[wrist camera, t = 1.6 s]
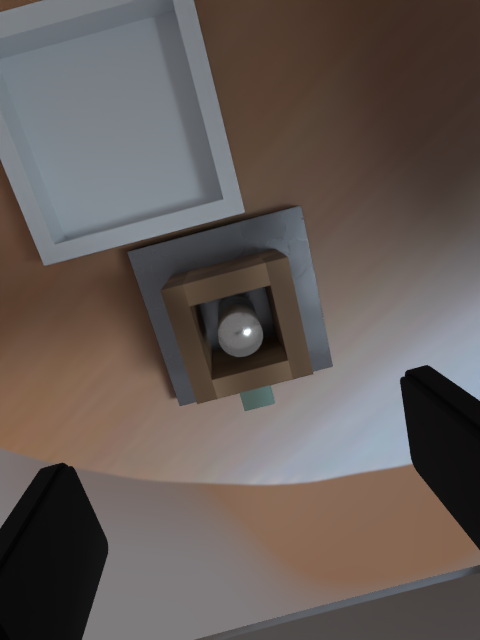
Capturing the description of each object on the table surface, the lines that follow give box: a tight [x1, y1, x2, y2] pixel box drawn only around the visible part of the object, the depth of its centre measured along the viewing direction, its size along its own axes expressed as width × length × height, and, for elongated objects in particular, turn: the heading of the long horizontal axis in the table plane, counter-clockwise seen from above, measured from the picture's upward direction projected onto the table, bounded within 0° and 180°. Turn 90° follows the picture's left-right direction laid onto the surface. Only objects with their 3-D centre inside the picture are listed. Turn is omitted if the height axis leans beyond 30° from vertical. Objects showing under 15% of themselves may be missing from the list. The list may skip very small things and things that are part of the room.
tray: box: [0, 0, 245, 266], centre depth 21 cm, size 12×12×2 cm
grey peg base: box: [127, 206, 333, 406], centre depth 23 cm, size 11×11×6 cm
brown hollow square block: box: [160, 249, 313, 411], centre depth 22 cm, size 7×8×4 cm
